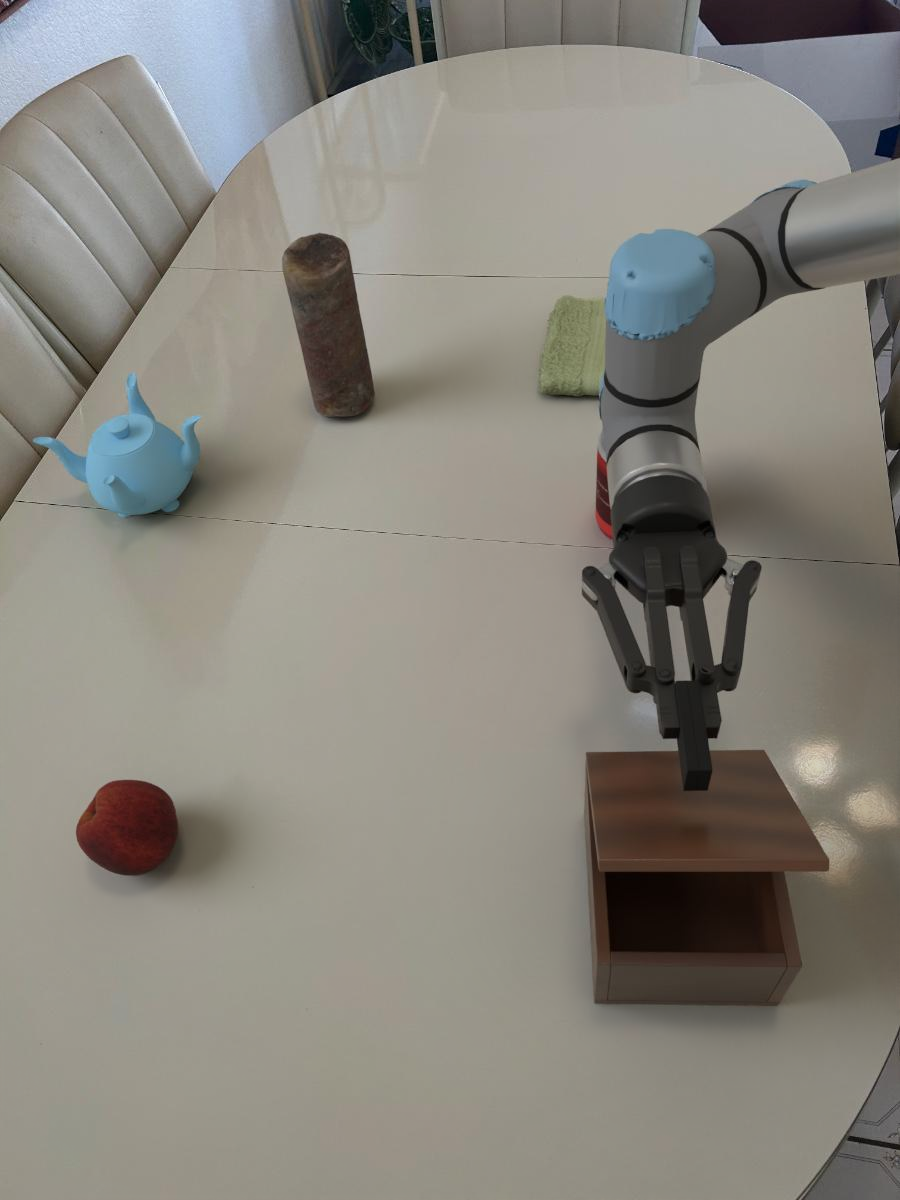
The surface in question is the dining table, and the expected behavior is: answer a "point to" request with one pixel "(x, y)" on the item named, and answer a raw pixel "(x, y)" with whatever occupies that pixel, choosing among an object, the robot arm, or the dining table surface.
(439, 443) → the dining table surface
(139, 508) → the teapot
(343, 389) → the candle
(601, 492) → the canned food
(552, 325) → the washcloth
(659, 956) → the chest
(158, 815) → the apple
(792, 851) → the lid
